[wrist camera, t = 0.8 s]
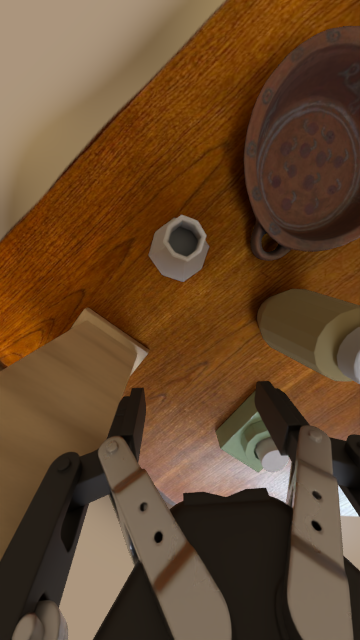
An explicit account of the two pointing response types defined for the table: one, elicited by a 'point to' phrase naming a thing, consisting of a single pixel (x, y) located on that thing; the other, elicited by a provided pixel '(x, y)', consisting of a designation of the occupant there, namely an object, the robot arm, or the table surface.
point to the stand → (59, 407)
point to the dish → (307, 148)
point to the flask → (179, 248)
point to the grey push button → (270, 456)
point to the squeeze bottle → (314, 331)
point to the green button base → (243, 434)
